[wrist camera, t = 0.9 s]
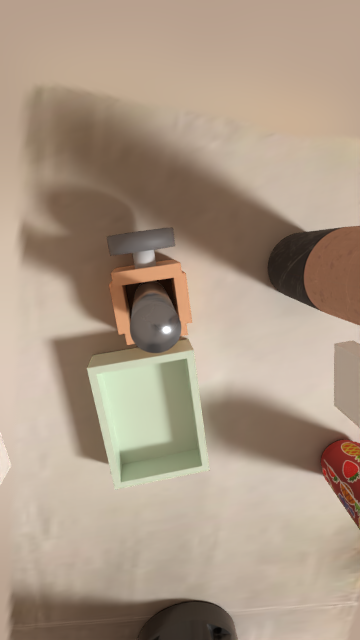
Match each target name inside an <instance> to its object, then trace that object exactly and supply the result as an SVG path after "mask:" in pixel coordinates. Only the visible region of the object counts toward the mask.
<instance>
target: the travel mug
mask: <svg viewBox="0 0 360 640" xmlns="http://www.w3.org/2000/svg"><path fill="white" fill-rule="evenodd" d="M268 273H269V277H270V280H271V282H272V284H273V285H274V287H275V288H276V289H277V290H278V291H279V292H281V293H283V294H284V295H287V296H289V297H291V298H293V299H295V300H298V301H300V302H302V303H304V304H307V305H309V306H311V307H313V308H316V309H318V310H320V311H323V312H325V313H327V314H330V315H333V316H335V317H338V318H341V319H344V320H346V321H349V322H352V323H355V324H357V325H360V226H353V227H342V228H334V229H326V230H319V231H311V232H303V233H297V234H293V235H290V236H288V237H286V238H284V239H283V240H282V241H280V242H279V243H278V244H277V245H276V247H275V248H274V249H273V251H272V253H271V255H270V258H269V262H268Z"/></svg>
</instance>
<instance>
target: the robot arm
mask: <svg viewBox="0 0 360 640" xmlns="http://www.w3.org/2000/svg"><path fill="white" fill-rule="evenodd" d="M334 406H335V407H337V408H338V409H339V410H340V411H341V412H342V413H344V414H345V415H346V416H347V417H348V418H349V419H350V420H352V421H353V422H354V423H355V424H356V425H357V426H358V427H360V344H359V343H357V342H355V341H348V342H342V343H336V344H335V356H334ZM10 467H11V463H10V460H9V457H8V454H7V451H6V448H5V444H4V442H3V438H2V435H1V432H0V485H1V483H2V481H3V479H4V478H5V476H6V474H7V473H8V471H9V469H10ZM138 640H238V638H237V634H236V630H235V625H234V622H233V620H232V618H231V617H230V615H229V614H228V613H227V612H226V611H225V610H223V609H222V608H220V607H218V606H216V605H213V604H210V603H204V602H188V603H182V604H178V605H174V606H172V607H169V608H167V609H165V610H163V611H161V612H159V613H158V614H156V615H155V616H154V617H152V618H151V619H150V620H149V621H148V622H147V623H146V624H145V626H144V627H143V629H142V630H141V632H140V634H139V637H138Z"/></svg>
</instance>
